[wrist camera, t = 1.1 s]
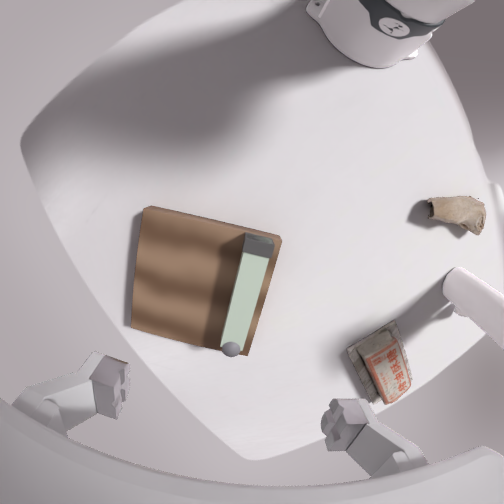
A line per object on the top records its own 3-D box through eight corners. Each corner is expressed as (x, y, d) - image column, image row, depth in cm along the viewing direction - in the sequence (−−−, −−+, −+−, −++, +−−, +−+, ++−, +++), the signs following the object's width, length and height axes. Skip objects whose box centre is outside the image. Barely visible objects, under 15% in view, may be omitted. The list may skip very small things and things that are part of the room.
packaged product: (352, 364, 39) (405, 331, 38) (343, 347, 44) (392, 317, 43) (378, 416, 44) (420, 390, 43) (370, 400, 48) (410, 376, 47)
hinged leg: (241, 345, 39) (241, 359, 36) (218, 340, 39) (216, 354, 35) (272, 238, 35) (275, 245, 32) (245, 231, 34) (245, 238, 31)
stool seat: (151, 205, 36) (143, 208, 33) (279, 235, 38) (282, 240, 35) (137, 318, 41) (130, 327, 38) (247, 344, 42) (247, 356, 40)
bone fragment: (476, 197, 37) (493, 202, 32) (470, 232, 39) (486, 238, 34) (424, 181, 36) (442, 183, 32) (418, 220, 38) (434, 227, 34)
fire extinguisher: (441, 321, 43) (520, 398, 19) (438, 266, 40) (542, 335, 16) (465, 306, 43) (544, 372, 19) (463, 252, 39) (565, 308, 15)
